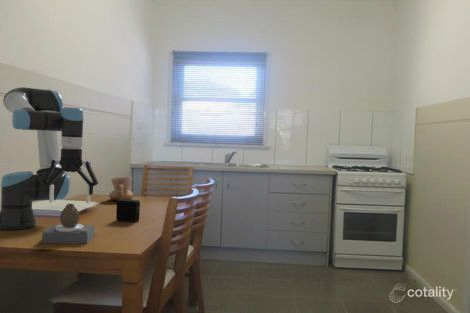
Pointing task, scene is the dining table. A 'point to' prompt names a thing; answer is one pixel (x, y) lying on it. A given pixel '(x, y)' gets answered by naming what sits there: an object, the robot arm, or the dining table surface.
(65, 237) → the grey dome button box
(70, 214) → the vase
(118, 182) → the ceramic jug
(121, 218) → the electronic device
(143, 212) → the dining table surface
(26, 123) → the robot arm
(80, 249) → the dining table surface
